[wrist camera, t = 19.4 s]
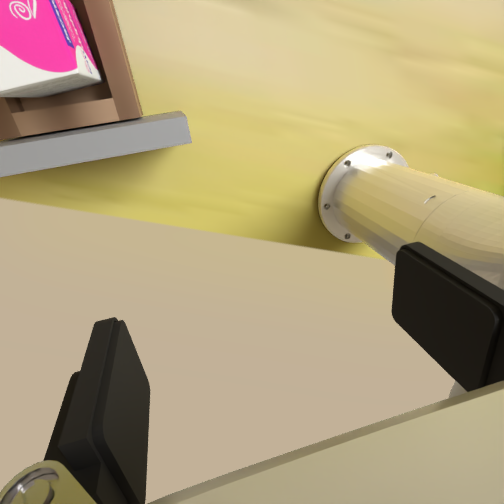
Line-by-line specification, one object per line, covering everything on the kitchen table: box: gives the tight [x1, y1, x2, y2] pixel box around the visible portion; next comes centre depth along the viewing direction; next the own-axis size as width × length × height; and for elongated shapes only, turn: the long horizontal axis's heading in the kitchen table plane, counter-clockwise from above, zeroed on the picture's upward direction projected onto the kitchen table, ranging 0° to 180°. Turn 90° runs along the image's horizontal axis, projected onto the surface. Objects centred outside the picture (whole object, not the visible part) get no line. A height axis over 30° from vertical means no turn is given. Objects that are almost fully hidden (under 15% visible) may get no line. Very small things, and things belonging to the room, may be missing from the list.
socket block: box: [0, 0, 143, 140], centre depth 27 cm, size 12×12×4 cm
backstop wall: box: [0, 111, 192, 177], centre depth 29 cm, size 16×2×9 cm, turn 98°
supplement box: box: [0, 0, 104, 98], centre depth 23 cm, size 6×6×12 cm
